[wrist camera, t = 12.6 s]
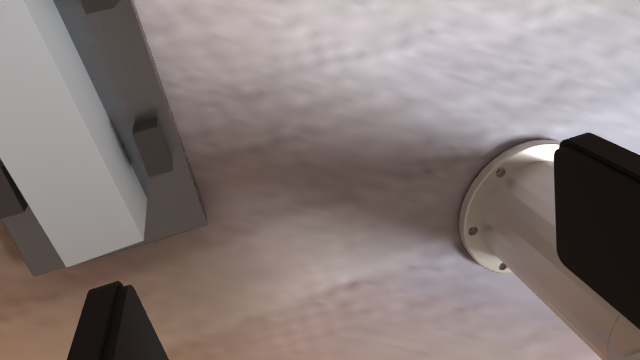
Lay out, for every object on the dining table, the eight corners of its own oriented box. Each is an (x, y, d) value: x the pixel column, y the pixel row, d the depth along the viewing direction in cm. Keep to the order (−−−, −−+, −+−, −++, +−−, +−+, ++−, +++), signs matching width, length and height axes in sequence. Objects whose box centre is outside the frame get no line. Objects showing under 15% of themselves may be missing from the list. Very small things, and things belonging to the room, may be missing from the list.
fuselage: (7, -95, 27) (-55, -108, 19) (150, 206, 35) (145, 278, 28) (-83, -71, 26) (-184, -74, 19) (85, 228, 35) (62, 308, 27)
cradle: (75, -170, 27) (63, -183, 24) (206, 214, 38) (209, 239, 35) (-174, -125, 26) (-221, -134, 23) (38, 264, 37) (26, 294, 34)
